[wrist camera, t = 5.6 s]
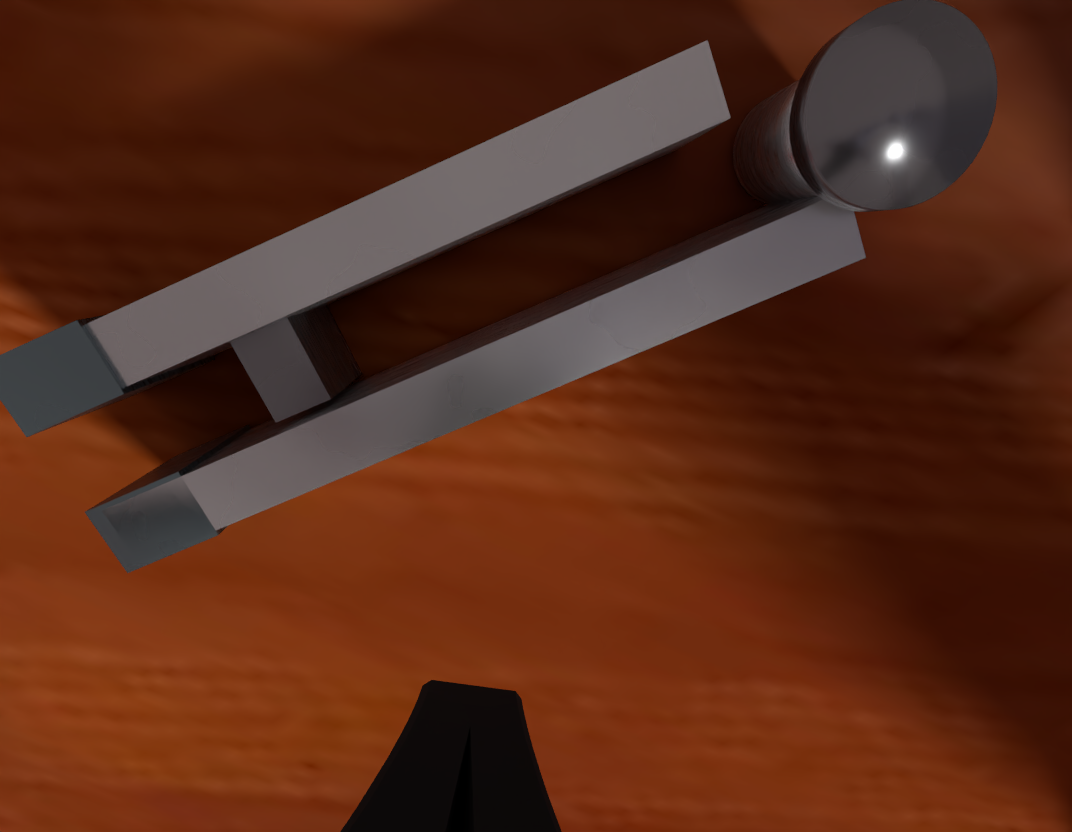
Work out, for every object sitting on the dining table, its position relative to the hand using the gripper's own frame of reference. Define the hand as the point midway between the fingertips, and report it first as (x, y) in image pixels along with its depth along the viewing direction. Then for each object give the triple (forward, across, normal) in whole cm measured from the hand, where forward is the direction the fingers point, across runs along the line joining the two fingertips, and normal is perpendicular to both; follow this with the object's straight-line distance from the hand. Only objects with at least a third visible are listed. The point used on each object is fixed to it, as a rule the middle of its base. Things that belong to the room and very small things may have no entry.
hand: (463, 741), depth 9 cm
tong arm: (+6, +1, -5) cm, 8 cm away
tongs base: (+7, +1, -6) cm, 9 cm away
